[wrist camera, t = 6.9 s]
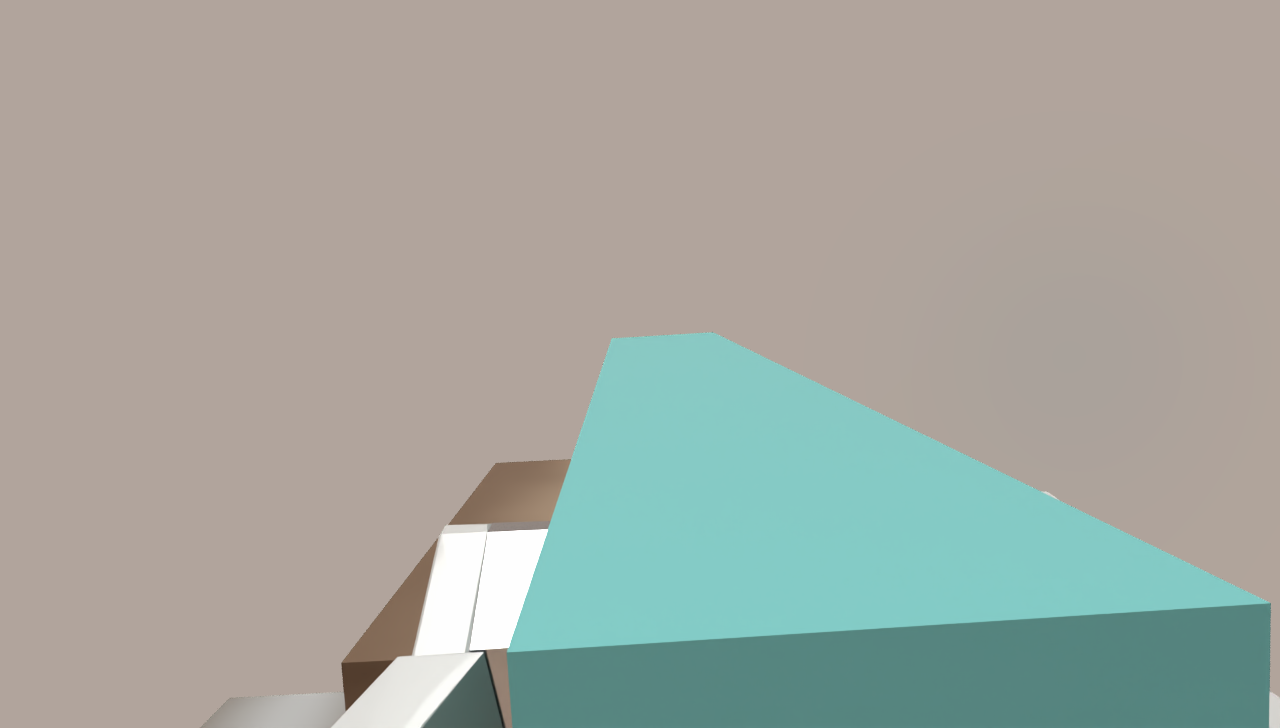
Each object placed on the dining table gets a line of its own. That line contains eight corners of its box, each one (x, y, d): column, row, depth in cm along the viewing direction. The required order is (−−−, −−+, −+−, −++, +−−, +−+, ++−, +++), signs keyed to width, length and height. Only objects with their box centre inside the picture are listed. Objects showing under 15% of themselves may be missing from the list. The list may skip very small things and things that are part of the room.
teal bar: (718, 432, 28) (713, 332, 28) (1261, 1282, 4) (1271, 602, 4) (618, 438, 28) (611, 338, 28) (561, 1332, 4) (507, 650, 4)
